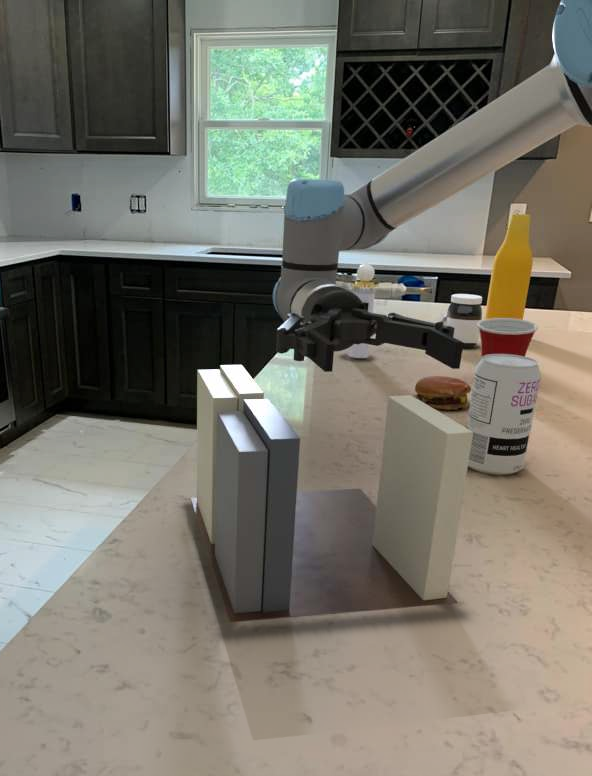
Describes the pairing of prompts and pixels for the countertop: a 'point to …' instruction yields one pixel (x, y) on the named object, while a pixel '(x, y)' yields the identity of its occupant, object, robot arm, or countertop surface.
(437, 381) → the burger
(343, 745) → the countertop surface
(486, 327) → the plastic cup
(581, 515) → the countertop surface
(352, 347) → the perfume bottle
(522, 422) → the supplement can
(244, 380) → the cream books
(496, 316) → the beer bottle
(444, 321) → the spread jar
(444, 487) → the cream book
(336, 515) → the shelf board
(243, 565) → the grey books
